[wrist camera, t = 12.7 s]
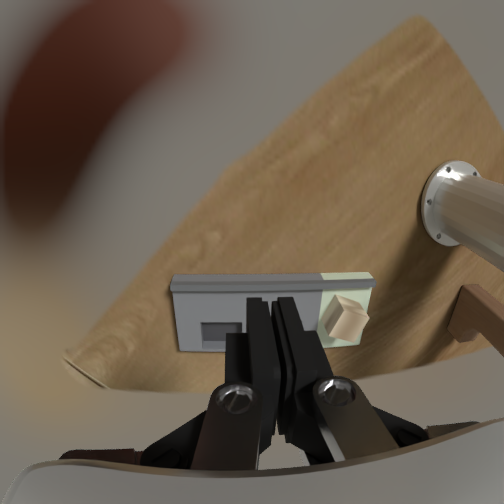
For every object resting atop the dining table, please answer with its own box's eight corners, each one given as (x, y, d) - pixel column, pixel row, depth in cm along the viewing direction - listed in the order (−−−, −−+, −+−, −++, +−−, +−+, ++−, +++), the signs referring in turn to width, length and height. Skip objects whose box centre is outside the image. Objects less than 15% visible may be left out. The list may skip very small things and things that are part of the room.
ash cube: (359, 302, 41) (369, 318, 37) (345, 325, 42) (353, 342, 38) (335, 294, 40) (344, 310, 36) (321, 318, 41) (328, 336, 37)
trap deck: (368, 272, 41) (376, 281, 39) (355, 336, 45) (361, 348, 43) (174, 274, 40) (169, 285, 37) (181, 342, 44) (179, 355, 41)
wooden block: (462, 327, 47) (516, 388, 30) (445, 329, 47) (500, 394, 30) (478, 283, 44) (543, 339, 27) (461, 284, 43) (528, 344, 27)
